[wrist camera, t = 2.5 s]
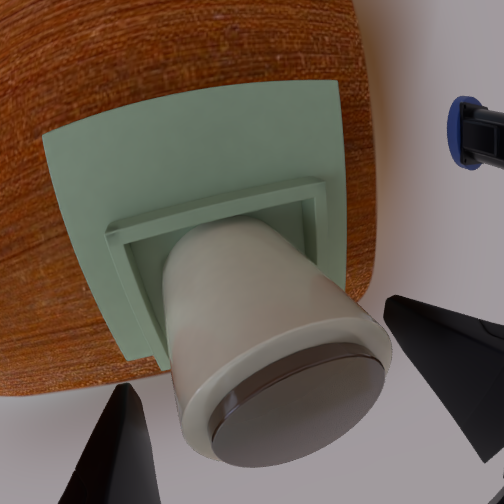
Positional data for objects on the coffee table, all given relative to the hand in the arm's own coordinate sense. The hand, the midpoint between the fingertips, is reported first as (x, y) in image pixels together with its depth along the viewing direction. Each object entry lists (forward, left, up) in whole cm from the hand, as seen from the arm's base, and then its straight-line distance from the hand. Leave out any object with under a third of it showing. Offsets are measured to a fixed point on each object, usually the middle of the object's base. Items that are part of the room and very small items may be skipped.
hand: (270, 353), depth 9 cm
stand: (0, -2, -8) cm, 8 cm away
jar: (0, 0, -5) cm, 5 cm away
